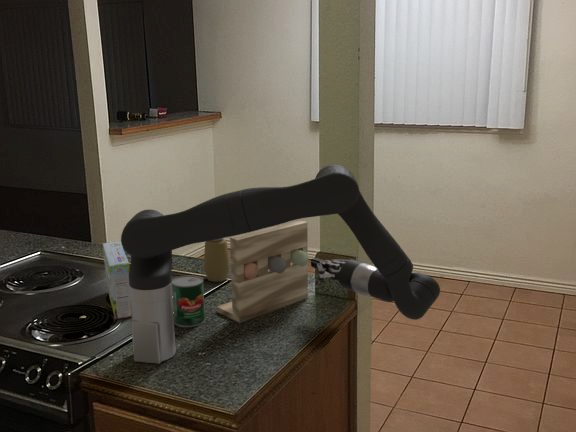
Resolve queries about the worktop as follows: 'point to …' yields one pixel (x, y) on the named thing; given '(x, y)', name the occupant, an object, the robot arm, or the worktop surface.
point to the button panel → (266, 271)
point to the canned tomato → (188, 301)
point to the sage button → (299, 257)
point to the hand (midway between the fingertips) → (312, 262)
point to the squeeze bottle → (216, 260)
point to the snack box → (117, 279)
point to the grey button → (277, 264)
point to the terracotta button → (250, 270)
